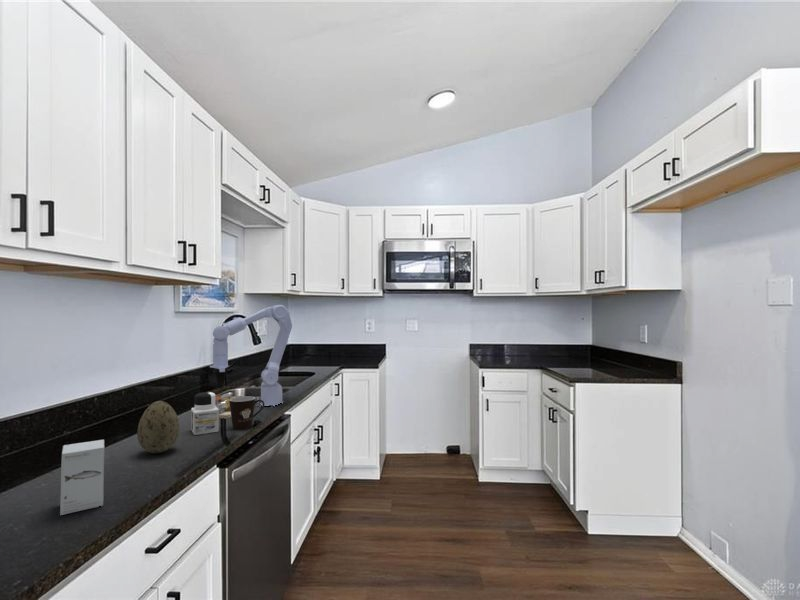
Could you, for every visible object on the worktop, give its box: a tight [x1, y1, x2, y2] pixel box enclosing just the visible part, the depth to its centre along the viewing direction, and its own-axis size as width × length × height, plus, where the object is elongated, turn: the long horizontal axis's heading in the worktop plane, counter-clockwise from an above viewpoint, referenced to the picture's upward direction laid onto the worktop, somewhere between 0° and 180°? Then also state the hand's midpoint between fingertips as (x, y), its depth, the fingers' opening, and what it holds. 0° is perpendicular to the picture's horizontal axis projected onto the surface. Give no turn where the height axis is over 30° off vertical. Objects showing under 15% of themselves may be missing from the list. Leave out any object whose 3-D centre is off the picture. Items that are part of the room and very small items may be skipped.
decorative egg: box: [136, 400, 180, 454], centre depth 123 cm, size 11×11×15 cm
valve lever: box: [215, 391, 234, 402], centre depth 166 cm, size 13×2×1 cm, turn 164°
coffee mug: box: [229, 396, 265, 431], centre depth 150 cm, size 12×9×10 cm
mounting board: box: [219, 409, 231, 420], centre depth 170 cm, size 16×13×1 cm
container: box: [190, 391, 220, 436], centre depth 145 cm, size 8×8×13 cm
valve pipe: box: [215, 395, 243, 414], centre depth 170 cm, size 15×4×5 cm, turn 164°
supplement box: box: [59, 439, 105, 516], centre depth 90 cm, size 7×7×13 cm
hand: (220, 387), depth 175 cm, fingers closed
